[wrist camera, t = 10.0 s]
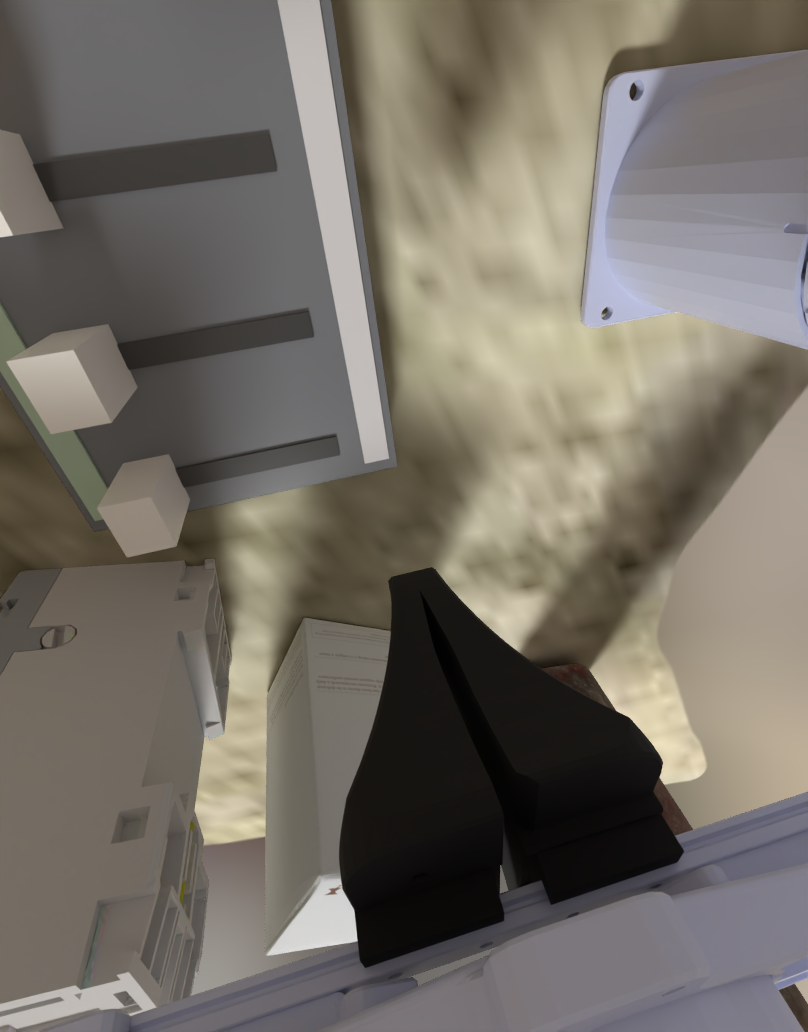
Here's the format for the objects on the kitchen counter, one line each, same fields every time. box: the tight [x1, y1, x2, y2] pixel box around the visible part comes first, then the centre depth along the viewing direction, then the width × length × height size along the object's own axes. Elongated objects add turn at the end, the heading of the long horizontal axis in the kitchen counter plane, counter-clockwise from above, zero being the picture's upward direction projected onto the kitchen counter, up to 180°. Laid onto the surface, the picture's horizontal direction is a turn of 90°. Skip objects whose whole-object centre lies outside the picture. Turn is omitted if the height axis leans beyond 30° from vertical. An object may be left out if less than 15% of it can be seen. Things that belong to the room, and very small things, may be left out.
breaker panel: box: [0, 0, 397, 557], centre depth 13 cm, size 12×17×6 cm
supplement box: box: [265, 618, 391, 955], centre depth 24 cm, size 7×7×13 cm
